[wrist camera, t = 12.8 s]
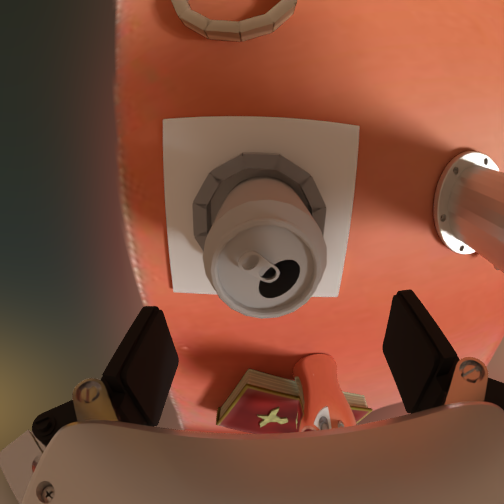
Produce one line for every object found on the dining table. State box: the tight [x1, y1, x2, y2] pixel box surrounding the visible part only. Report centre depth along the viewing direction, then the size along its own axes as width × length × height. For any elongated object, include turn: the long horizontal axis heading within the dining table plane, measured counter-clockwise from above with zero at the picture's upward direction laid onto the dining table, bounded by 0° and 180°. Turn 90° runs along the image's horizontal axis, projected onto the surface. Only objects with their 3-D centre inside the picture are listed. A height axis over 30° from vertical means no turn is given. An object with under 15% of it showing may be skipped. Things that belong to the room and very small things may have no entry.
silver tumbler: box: [293, 354, 357, 432], centre depth 28 cm, size 7×7×15 cm
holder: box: [163, 116, 360, 297], centre depth 25 cm, size 18×18×3 cm
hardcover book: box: [216, 369, 372, 434], centre depth 37 cm, size 12×21×4 cm, turn 66°
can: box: [203, 176, 327, 318], centre depth 21 cm, size 8×8×12 cm
